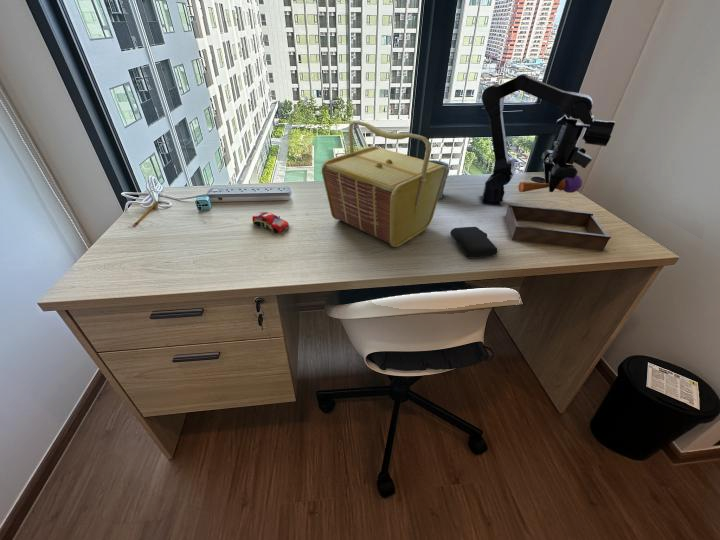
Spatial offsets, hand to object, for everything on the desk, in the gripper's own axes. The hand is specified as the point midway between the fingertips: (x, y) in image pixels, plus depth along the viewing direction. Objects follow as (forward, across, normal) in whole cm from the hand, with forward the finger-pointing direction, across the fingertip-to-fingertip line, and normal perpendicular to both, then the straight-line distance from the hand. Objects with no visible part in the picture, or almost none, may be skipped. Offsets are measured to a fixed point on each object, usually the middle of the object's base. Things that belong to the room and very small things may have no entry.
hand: (548, 188), depth 112 cm
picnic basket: (+10, -23, +53) cm, 59 cm away
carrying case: (+9, -29, +24) cm, 39 cm away
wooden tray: (+9, -15, 0) cm, 17 cm away
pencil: (+10, -35, +132) cm, 136 cm away
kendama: (+1, 0, 0) cm, 1 cm away
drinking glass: (+9, +5, +38) cm, 40 cm away
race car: (+10, -33, +87) cm, 94 cm away
